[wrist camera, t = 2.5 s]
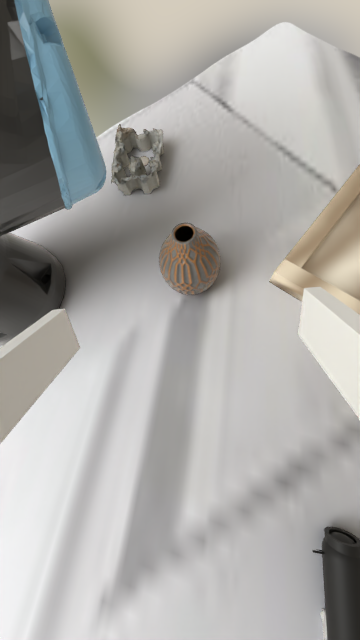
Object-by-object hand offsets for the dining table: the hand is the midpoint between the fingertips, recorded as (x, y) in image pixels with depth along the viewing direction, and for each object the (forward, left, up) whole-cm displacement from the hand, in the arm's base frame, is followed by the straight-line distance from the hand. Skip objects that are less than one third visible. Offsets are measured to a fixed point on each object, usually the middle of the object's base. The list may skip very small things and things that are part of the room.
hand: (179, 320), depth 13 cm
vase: (-7, +8, -14) cm, 18 cm away
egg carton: (-26, +18, -15) cm, 35 cm away
